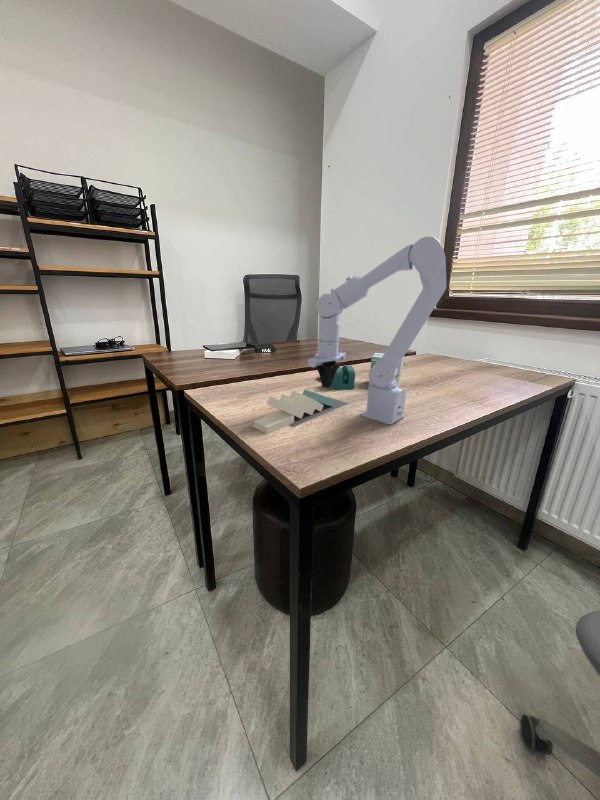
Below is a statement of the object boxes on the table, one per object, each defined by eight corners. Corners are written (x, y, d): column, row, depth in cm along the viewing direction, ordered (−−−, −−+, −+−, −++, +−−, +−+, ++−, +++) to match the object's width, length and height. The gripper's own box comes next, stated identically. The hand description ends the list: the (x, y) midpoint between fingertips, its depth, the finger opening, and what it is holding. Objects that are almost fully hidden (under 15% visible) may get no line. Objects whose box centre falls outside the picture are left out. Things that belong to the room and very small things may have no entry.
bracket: (354, 389, 107) (355, 367, 104) (336, 391, 105) (337, 369, 102) (332, 376, 123) (333, 356, 120) (317, 377, 121) (317, 357, 118)
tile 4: (304, 411, 81) (283, 401, 74) (301, 418, 80) (280, 409, 74) (291, 406, 84) (269, 396, 77) (288, 413, 84) (266, 404, 77)
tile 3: (314, 408, 84) (295, 398, 77) (312, 415, 83) (292, 406, 77) (301, 403, 87) (281, 394, 80) (298, 410, 87) (279, 401, 80)
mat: (348, 404, 93) (348, 403, 93) (292, 428, 76) (292, 427, 76) (328, 397, 98) (328, 396, 98) (271, 418, 82) (271, 417, 81)
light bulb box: (368, 384, 112) (371, 355, 109) (371, 380, 118) (374, 352, 114) (398, 388, 108) (402, 358, 105) (400, 383, 114) (404, 355, 110)
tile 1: (335, 400, 90) (317, 393, 83) (332, 406, 90) (315, 400, 83) (322, 396, 93) (304, 389, 86) (319, 402, 93) (301, 396, 86)
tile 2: (323, 405, 86) (305, 395, 79) (321, 411, 86) (302, 402, 79) (310, 400, 89) (292, 390, 83) (307, 407, 89) (289, 397, 82)
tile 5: (294, 415, 78) (267, 427, 72) (294, 422, 79) (267, 434, 73) (280, 410, 81) (253, 421, 75) (280, 417, 82) (254, 428, 76)
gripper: (333, 336, 92) (330, 379, 97) (299, 341, 82) (299, 389, 87) (352, 338, 87) (349, 384, 92) (320, 344, 77) (318, 395, 82)
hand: (326, 387), depth 89 cm, fingers closed
